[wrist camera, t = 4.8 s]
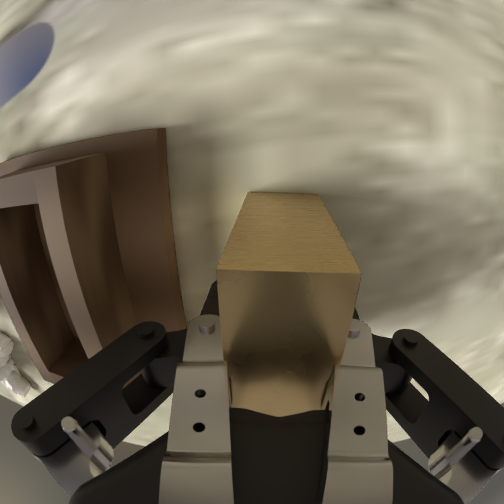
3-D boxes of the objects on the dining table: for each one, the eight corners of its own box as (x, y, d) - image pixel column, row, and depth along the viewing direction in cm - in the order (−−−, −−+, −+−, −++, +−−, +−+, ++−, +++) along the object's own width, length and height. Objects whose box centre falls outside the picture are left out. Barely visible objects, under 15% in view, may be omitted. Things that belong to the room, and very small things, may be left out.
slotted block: (4, 162, 12) (-47, 180, 8) (165, 127, 11) (111, 132, 7) (55, 340, 18) (26, 377, 14) (194, 367, 17) (176, 424, 13)
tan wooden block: (248, 192, 12) (216, 269, 6) (317, 194, 12) (361, 273, 6) (249, 337, 16) (233, 448, 9) (303, 338, 15) (310, 450, 9)
